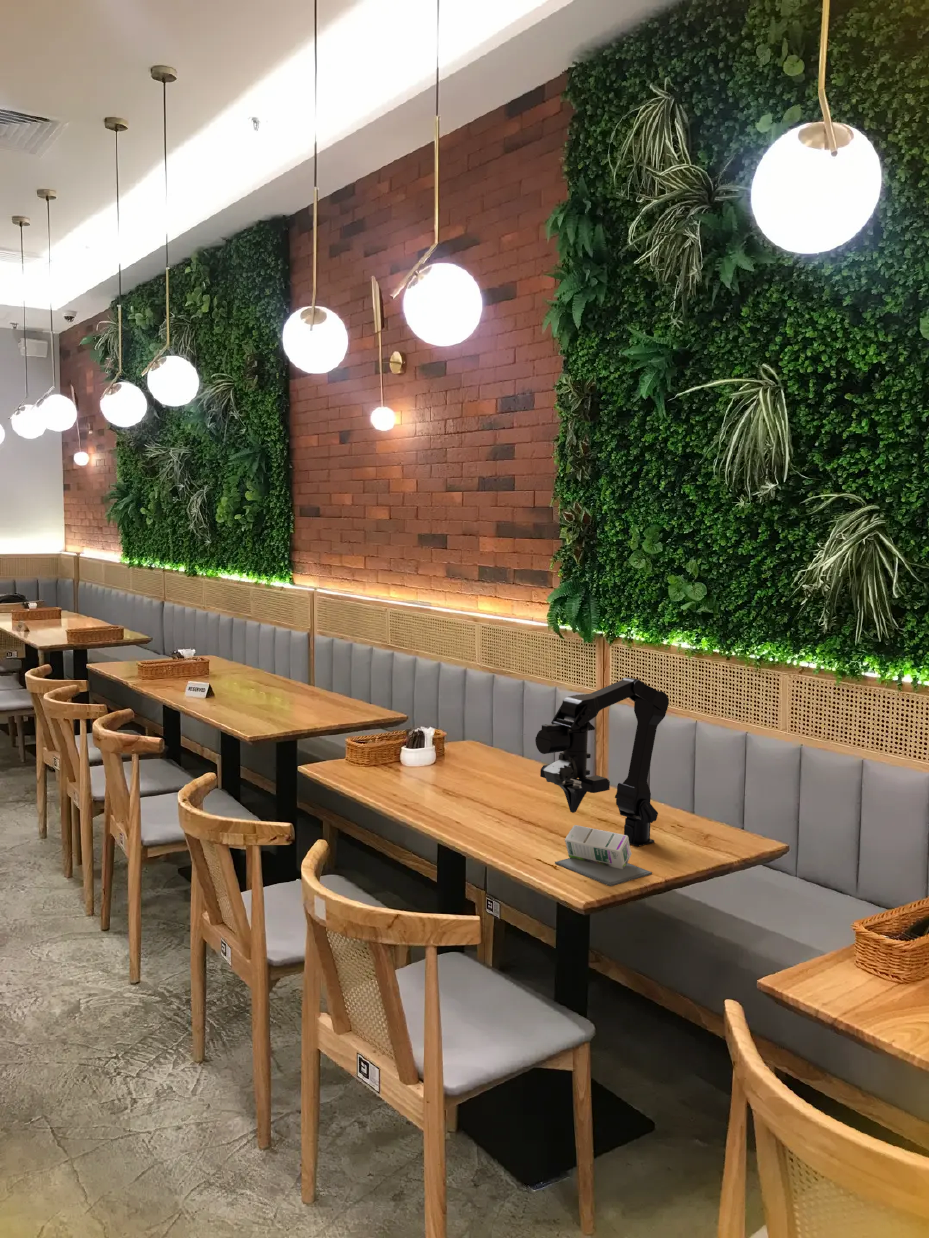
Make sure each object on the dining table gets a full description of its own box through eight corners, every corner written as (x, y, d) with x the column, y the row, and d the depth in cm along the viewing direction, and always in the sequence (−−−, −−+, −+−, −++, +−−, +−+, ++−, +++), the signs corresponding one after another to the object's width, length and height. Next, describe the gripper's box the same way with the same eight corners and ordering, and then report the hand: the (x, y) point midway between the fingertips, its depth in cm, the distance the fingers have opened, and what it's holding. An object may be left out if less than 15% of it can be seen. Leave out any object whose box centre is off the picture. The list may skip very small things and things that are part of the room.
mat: (596, 852, 237) (596, 850, 237) (651, 873, 223) (652, 871, 223) (554, 863, 228) (554, 861, 228) (610, 886, 214) (610, 884, 214)
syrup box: (563, 839, 229) (619, 852, 221) (574, 823, 233) (629, 835, 225) (568, 857, 232) (623, 870, 224) (578, 840, 236) (633, 853, 228)
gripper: (524, 745, 234) (522, 808, 235) (578, 761, 219) (576, 827, 221) (557, 740, 241) (555, 801, 242) (612, 755, 226) (609, 819, 227)
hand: (573, 812), depth 233 cm, fingers closed
